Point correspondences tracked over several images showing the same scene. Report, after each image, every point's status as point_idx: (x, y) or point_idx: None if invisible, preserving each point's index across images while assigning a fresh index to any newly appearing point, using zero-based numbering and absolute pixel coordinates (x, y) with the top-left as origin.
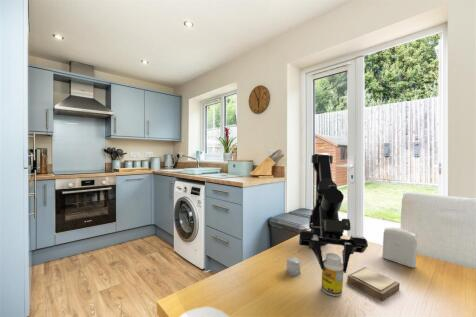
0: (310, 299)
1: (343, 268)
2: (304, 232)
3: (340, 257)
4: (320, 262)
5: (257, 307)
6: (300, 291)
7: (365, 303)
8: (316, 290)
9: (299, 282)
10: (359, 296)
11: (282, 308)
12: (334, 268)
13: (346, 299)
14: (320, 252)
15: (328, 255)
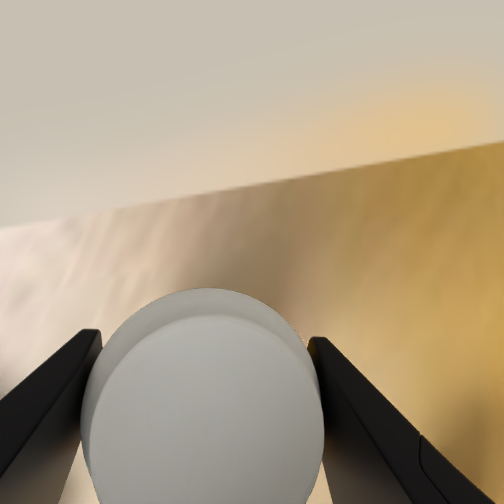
0: (330, 260)
1: (98, 358)
2: None
3: (97, 421)
4: (357, 369)
5: None
6: (379, 317)
7: (19, 297)
8: None
9: None
10: (26, 362)
11: (448, 173)
12: (216, 291)
13: (129, 308)
14: (415, 481)
15: (289, 436)
